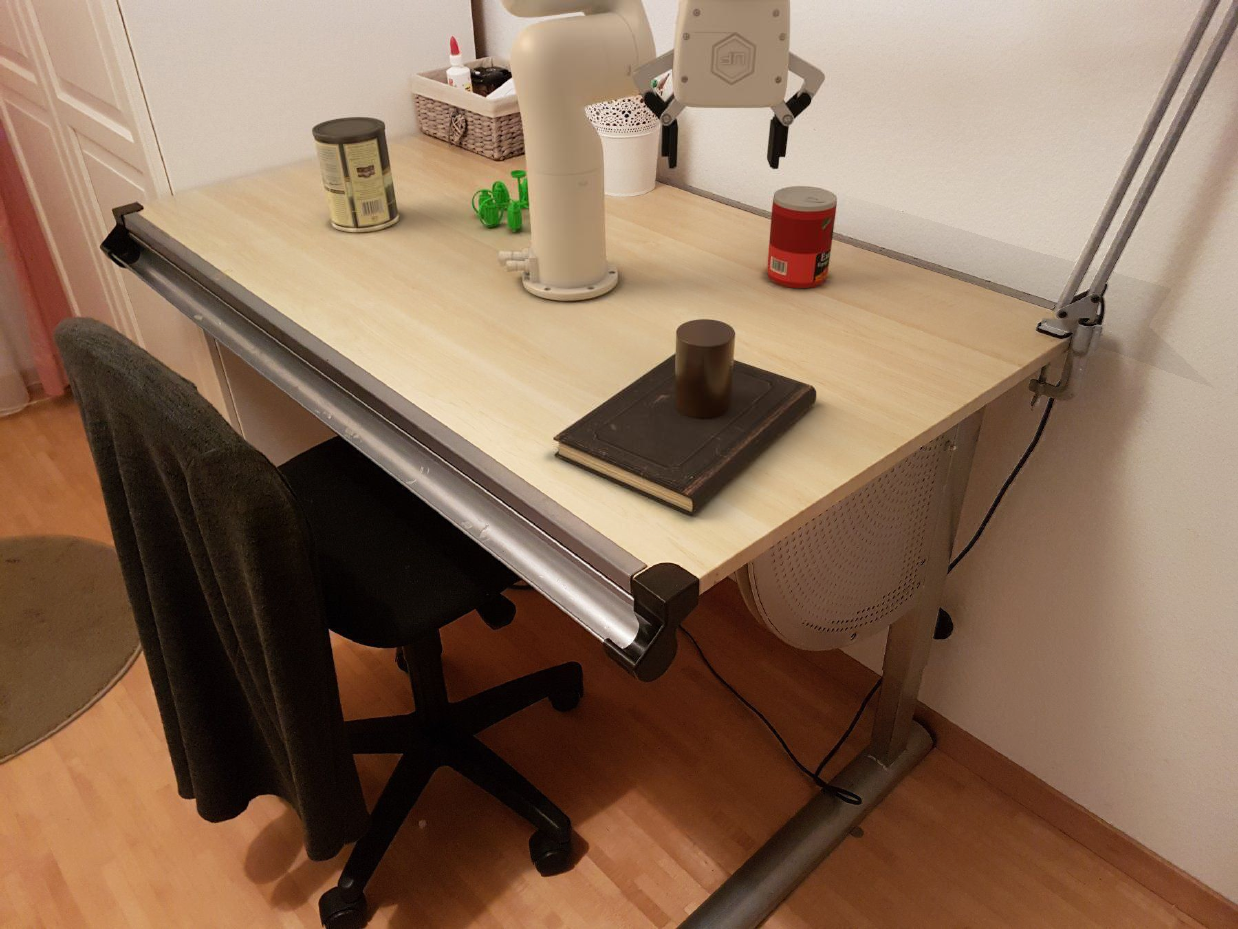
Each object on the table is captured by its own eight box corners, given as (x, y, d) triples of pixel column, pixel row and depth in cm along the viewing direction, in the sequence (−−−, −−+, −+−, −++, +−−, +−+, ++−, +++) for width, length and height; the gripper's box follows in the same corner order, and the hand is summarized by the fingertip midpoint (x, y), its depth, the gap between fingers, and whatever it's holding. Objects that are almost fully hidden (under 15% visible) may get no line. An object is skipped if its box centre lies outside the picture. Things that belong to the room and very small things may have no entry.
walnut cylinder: (676, 419, 89) (678, 346, 85) (672, 390, 94) (674, 319, 89) (733, 418, 89) (738, 345, 85) (727, 389, 94) (731, 318, 89)
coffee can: (365, 204, 146) (349, 112, 138) (413, 216, 142) (399, 122, 134) (316, 224, 139) (296, 129, 131) (364, 237, 135) (347, 140, 127)
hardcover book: (554, 456, 88) (553, 436, 87) (686, 362, 103) (687, 344, 102) (693, 518, 80) (694, 497, 79) (815, 406, 95) (817, 387, 94)
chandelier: (576, 201, 146) (574, 157, 142) (563, 236, 134) (561, 190, 130) (483, 199, 148) (479, 156, 144) (462, 234, 135) (457, 188, 131)
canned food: (826, 291, 118) (837, 207, 112) (764, 286, 119) (771, 204, 113) (827, 267, 124) (837, 187, 118) (768, 263, 125) (775, 183, 119)
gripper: (634, -31, 75) (632, 177, 85) (847, -30, 75) (819, 178, 85) (633, -45, 81) (631, 151, 91) (830, -44, 81) (806, 151, 91)
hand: (722, 164), depth 88 cm, fingers open, 9 cm apart
